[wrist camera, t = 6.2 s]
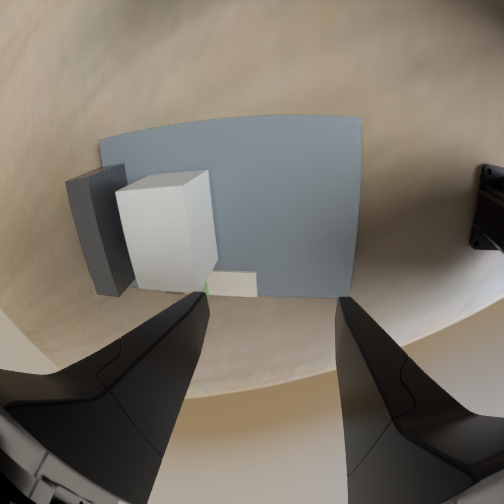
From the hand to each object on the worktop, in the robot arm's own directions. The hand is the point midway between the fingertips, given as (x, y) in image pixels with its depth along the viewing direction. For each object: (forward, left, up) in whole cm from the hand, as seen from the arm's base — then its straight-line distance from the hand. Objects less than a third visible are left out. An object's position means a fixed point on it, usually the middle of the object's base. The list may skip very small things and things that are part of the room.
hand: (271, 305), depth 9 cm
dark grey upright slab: (+11, 0, -9) cm, 14 cm away
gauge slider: (+6, +1, -9) cm, 11 cm away
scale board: (+4, 0, -10) cm, 11 cm away
